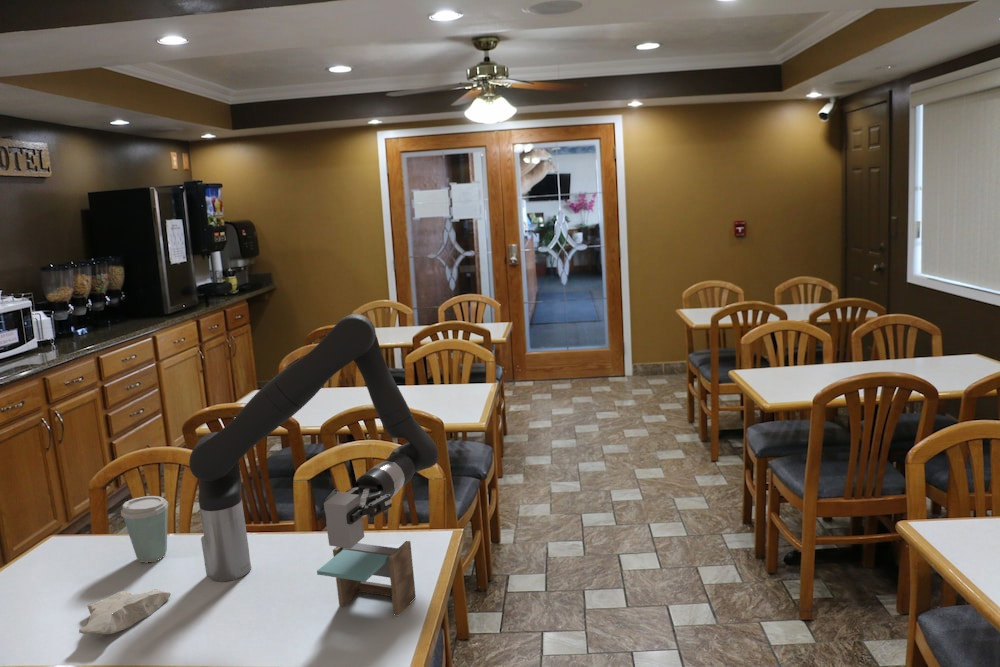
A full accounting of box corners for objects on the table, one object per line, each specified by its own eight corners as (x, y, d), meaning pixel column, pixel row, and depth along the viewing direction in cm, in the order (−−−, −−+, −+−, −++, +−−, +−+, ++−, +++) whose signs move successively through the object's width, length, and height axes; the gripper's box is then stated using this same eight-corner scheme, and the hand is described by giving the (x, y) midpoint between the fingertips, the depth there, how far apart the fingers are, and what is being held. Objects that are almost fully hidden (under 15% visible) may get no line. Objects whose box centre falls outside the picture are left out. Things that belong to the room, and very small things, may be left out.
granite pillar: (329, 545, 156) (323, 503, 154) (343, 534, 160) (337, 492, 158) (351, 548, 154) (345, 505, 152) (364, 536, 158) (359, 494, 156)
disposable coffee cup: (160, 544, 203) (151, 489, 200) (185, 553, 196) (176, 496, 193) (120, 561, 194) (111, 504, 191) (145, 572, 188) (135, 513, 185)
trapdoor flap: (358, 565, 170) (355, 539, 169) (402, 571, 166) (400, 545, 165) (320, 598, 157) (316, 570, 156) (367, 606, 153) (364, 577, 152)
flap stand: (358, 588, 173) (352, 534, 171) (415, 597, 168) (410, 541, 165) (339, 606, 167) (332, 549, 164) (398, 616, 161) (392, 557, 159)
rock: (48, 645, 160) (103, 648, 155) (44, 623, 160) (99, 626, 154) (130, 599, 180) (182, 600, 175) (126, 579, 180) (178, 580, 174)
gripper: (349, 465, 170) (302, 497, 155) (408, 469, 165) (365, 503, 150) (353, 497, 172) (307, 532, 157) (411, 503, 167) (370, 540, 151)
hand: (336, 518), depth 153 cm, fingers closed on granite pillar, 5 cm apart
